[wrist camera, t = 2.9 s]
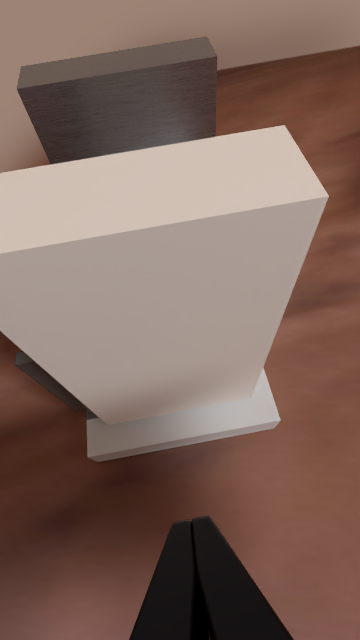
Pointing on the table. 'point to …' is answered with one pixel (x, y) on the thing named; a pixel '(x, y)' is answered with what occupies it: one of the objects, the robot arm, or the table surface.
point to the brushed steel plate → (122, 99)
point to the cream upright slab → (155, 270)
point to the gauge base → (182, 426)
